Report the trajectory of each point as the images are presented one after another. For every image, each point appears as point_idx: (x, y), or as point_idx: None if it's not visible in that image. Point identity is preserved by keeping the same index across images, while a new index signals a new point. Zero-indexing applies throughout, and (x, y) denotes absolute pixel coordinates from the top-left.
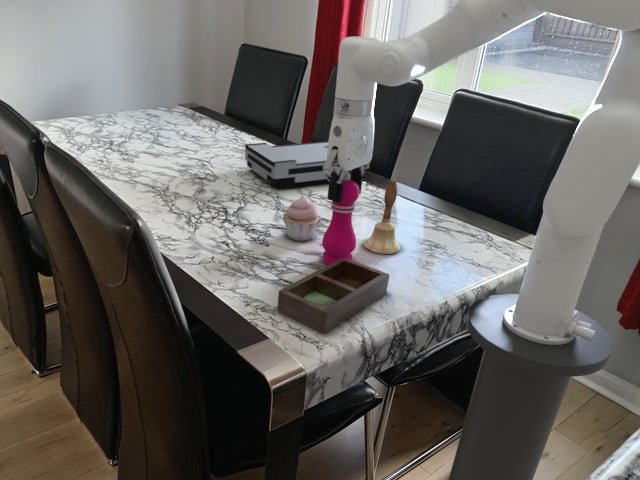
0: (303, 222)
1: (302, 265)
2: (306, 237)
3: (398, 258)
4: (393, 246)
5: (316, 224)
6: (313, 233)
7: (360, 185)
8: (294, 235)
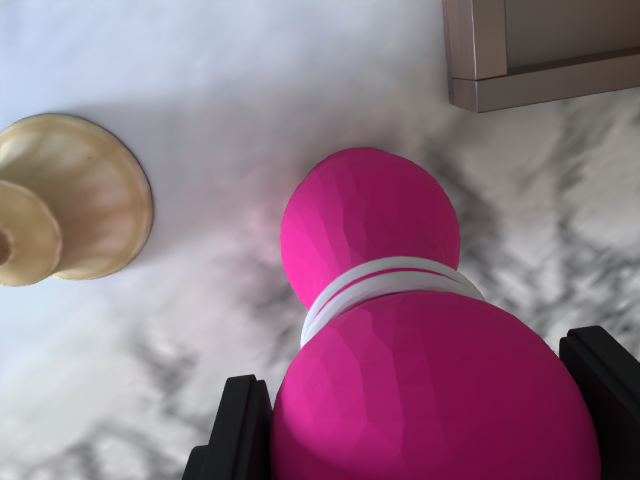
0: None
1: (504, 265)
2: None
3: (81, 65)
4: (43, 136)
5: None
6: None
7: (233, 441)
8: None
